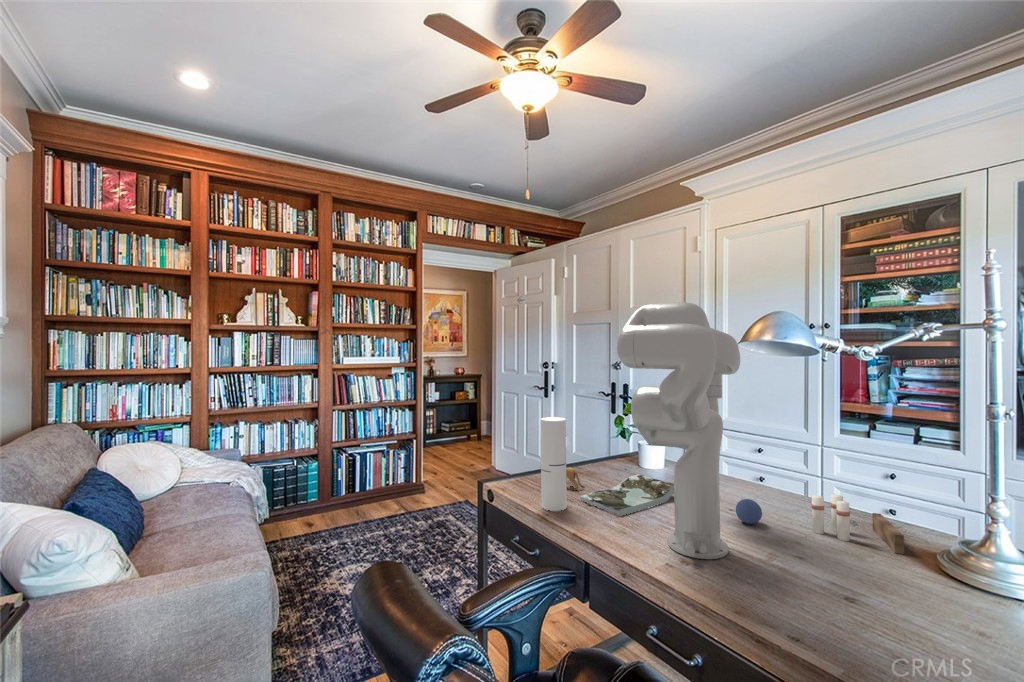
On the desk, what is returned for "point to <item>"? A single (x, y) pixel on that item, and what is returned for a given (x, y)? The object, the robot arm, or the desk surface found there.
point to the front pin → (817, 514)
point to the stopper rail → (888, 533)
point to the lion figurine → (573, 477)
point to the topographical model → (631, 495)
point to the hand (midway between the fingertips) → (707, 457)
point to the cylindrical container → (553, 463)
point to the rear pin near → (843, 521)
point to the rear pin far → (834, 510)
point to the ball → (748, 511)
